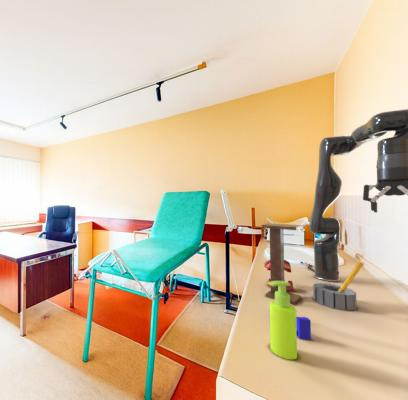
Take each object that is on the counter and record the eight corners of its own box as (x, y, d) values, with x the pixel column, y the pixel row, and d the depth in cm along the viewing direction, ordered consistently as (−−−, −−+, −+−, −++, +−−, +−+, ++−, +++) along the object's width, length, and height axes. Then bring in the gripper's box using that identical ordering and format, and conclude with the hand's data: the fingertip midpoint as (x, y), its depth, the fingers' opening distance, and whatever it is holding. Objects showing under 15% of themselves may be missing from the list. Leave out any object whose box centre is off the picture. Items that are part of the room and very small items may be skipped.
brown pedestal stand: (263, 295, 96) (261, 224, 96) (271, 290, 102) (269, 223, 102) (297, 306, 86) (296, 227, 87) (304, 299, 92) (302, 225, 92)
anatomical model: (271, 289, 100) (267, 257, 106) (266, 290, 107) (263, 259, 113) (299, 293, 96) (294, 259, 102) (292, 293, 103) (288, 261, 108)
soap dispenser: (261, 345, 63) (260, 278, 63) (283, 344, 64) (282, 277, 64) (279, 360, 57) (278, 286, 58) (303, 358, 58) (301, 285, 58)
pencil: (335, 303, 88) (330, 301, 89) (335, 302, 89) (330, 300, 90) (364, 263, 81) (359, 261, 82) (364, 263, 82) (359, 260, 83)
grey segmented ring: (309, 294, 97) (309, 281, 97) (347, 300, 91) (347, 286, 91) (319, 306, 86) (319, 291, 86) (362, 313, 80) (362, 297, 80)
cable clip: (272, 317, 78) (272, 301, 78) (286, 318, 78) (286, 302, 78) (294, 337, 67) (293, 318, 67) (310, 339, 66) (310, 320, 66)
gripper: (429, 165, 72) (430, 213, 72) (363, 170, 84) (364, 211, 84) (430, 163, 68) (432, 214, 68) (361, 169, 79) (362, 212, 79)
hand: (394, 212), depth 76 cm, fingers open, 8 cm apart
